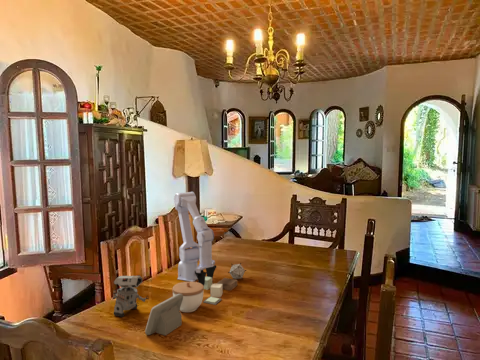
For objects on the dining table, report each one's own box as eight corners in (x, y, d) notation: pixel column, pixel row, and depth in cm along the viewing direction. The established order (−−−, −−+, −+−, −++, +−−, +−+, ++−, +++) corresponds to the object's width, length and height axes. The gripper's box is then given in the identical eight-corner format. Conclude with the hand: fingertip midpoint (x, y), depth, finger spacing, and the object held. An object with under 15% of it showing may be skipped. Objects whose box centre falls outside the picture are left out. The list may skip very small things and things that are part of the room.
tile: (202, 302, 149) (202, 300, 149) (209, 297, 154) (209, 295, 154) (215, 305, 146) (215, 303, 146) (221, 299, 152) (221, 298, 152)
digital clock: (175, 316, 136) (175, 289, 135) (190, 323, 130) (190, 296, 130) (139, 332, 124) (138, 303, 123) (154, 341, 118) (153, 310, 117)
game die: (239, 287, 176) (243, 276, 169) (224, 280, 177) (227, 268, 171) (245, 274, 182) (249, 262, 176) (231, 267, 184) (234, 255, 178)
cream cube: (210, 296, 155) (210, 287, 155) (212, 293, 159) (212, 283, 159) (220, 297, 154) (220, 287, 154) (222, 293, 159) (222, 283, 158)
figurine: (134, 320, 133) (133, 282, 132) (110, 315, 137) (109, 277, 136) (149, 310, 141) (148, 274, 140) (126, 305, 145) (125, 270, 144)
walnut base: (217, 288, 165) (217, 282, 165) (224, 283, 172) (224, 277, 171) (230, 291, 162) (230, 284, 162) (237, 286, 169) (237, 280, 168)
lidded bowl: (178, 318, 135) (177, 290, 134) (168, 305, 146) (168, 279, 145) (208, 311, 140) (208, 284, 140) (197, 299, 152) (197, 275, 151)
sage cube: (199, 288, 165) (199, 279, 165) (204, 285, 169) (204, 276, 169) (207, 289, 163) (207, 280, 163) (212, 286, 167) (212, 277, 167)
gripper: (205, 260, 157) (205, 289, 158) (220, 252, 170) (220, 279, 171) (191, 258, 160) (192, 287, 160) (207, 250, 173) (207, 277, 174)
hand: (205, 283), depth 166 cm, fingers open, 7 cm apart
